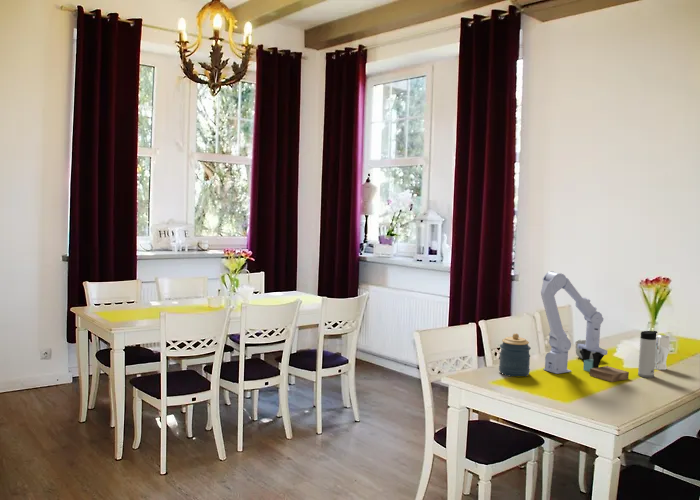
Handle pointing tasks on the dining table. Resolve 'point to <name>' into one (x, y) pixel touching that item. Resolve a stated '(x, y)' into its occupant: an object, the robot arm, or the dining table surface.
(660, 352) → the beer glass
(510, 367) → the canister
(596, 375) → the walnut base
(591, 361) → the teal cube
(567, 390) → the dining table surface
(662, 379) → the dining table surface
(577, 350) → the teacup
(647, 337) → the travel mug
